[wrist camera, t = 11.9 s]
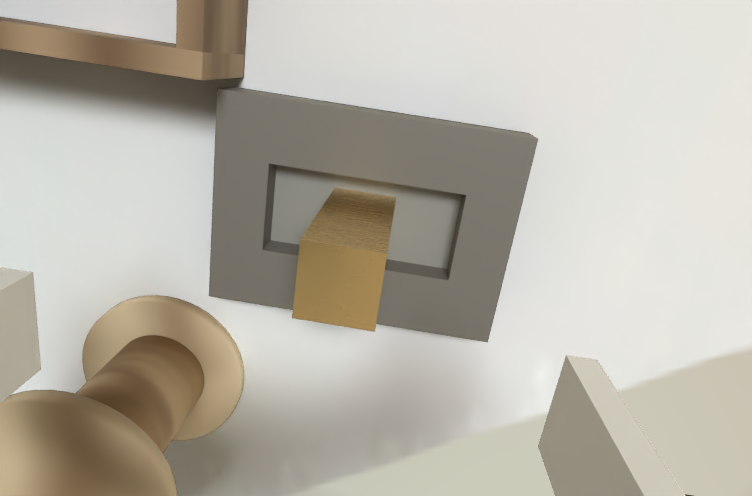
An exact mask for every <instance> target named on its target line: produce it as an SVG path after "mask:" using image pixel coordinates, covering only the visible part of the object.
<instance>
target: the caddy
mask: <svg viewBox="0 0 752 496" xmlns="http://www.w3.org/2000/svg"><path fill="white" fill-rule="evenodd" d="M247 8H248V0H177V33H176V44H173V43H166V42H160V41H154V40H147V39H141V38H134V37H128V36H121V35H115V34H108V33H102V32H96V31H89V30H83V29H76V28H70V27H63V26H57V25H50V24H44V23H38V22H31V21H25V20H18V19H12V18H5V17H0V49H5V50H11V51H18V52H24V53H30V54H37V55H43V56H50V57H56V58H62V59H69V60H75V61H81V62H88V63H94V64H101V65H107V66H113V67H120V68H126V69H133V70H139V71H145V72H152V73H158V74H164V75H171V76H177V77H184V78H190V79H196V80H214V79H227V78H241V77H244V62H245V44H246V26H247Z"/></svg>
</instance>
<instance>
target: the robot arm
mask: <svg viewBox="0 0 752 496" xmlns="http://www.w3.org/2000/svg"><path fill="white" fill-rule="evenodd" d="M39 370H41V363H40V351H39V339H38V327H37V315H36V303H35V291H34V279H33V272H27V271H20V270H14V269H7V268H0V403H1V402H2V401H4V400H5V399H6V398H7V397H8V396H10V395H11V394H12V393H13V392H14V391H16V390H17V389H18V388H19V387H20V386H21V385H23V384H24V383H25V382H26V381H27V380H29V379H30V378H31V377H32V376H33V375H35V374H36V373H37V372H38V371H39ZM538 448H539V450H540V453H541V456H542V459H543V462H544V465H545V467H546V470H547V473H548V476H549V479H550V482H551V485H552V488H553V491H554V494H555V496H692V495H686V494H684V492H683V491H682V489H681V488H680V486H679V485H678V483H677V482H676V480H675V479H674V477H673V476H672V474H671V473H670V471H669V470H668V468H667V466H666V465H665V463H664V462H663V460H662V459H661V457H660V456H659V454H658V453H657V451H656V449H655V448H654V446H653V445H652V443H651V442H650V440H649V439H648V437H647V436H646V434H645V432H644V431H643V429H642V428H641V427H640V425H639V424H638V422H637V420H636V419H635V417H634V416H633V414H632V413H631V411H630V409H629V408H628V406H627V405H626V403H625V402H624V400H623V399H622V397H621V396H620V394H619V393H618V391H617V389H616V388H615V386H614V385H613V383H612V382H611V380H610V379H609V377H608V376H607V374H606V373H605V371H604V369H603V368H602V366H601V365H600V363H599V362H598V360H594V359H587V358H581V357H575V356H568V355H566V358H565V361H564V364H563V367H562V371H561V374H560V377H559V380H558V383H557V387H556V390H555V393H554V396H553V400H552V403H551V406H550V409H549V413H548V416H547V419H546V422H545V426H544V429H543V432H542V435H541V439H540V442H539V445H538Z"/></svg>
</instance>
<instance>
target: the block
mask: <svg viewBox="0 0 752 496" xmlns="http://www.w3.org/2000/svg"><path fill="white" fill-rule="evenodd" d="M395 203H396V197H392V196H386V195H380V194H373V193H367V192H361V191H354V190H348V189H342V188H336V187H335V188H334V190H333V191H332V193H331V194H330V196H329V197H328V199H327V200H326V202H325V203H324V205H323V206H322V208H321V209H320V211H319V212H318V214H317V215H316V217H315V218H314V220H313V221H312V223H311V224H310V226H309V227H308V228H307V230H306V231H305V233H304V234H303V236H302V237H301V239H300V245H299V255H298V265H297V275H296V285H295V295H294V305H293V315H292V318H296V319H302V320H308V321H314V322H320V323H326V324H332V325H338V326H344V327H350V328H356V329H362V330H368V331H374V332H375V327H376V321H377V315H378V308H379V302H380V296H381V290H382V284H383V278H384V272H385V265H386V259H387V253H388V247H389V240H390V234H391V228H392V222H393V215H394V209H395Z"/></svg>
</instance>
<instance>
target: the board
mask: <svg viewBox="0 0 752 496" xmlns="http://www.w3.org/2000/svg"><path fill="white" fill-rule="evenodd" d="M537 142H538V139H537V138H536V137H534V136H533V135H531V134H529V133H525V132H518V131H512V130H505V129H499V128H493V127H486V126H480V125H474V124H467V123H461V122H454V121H448V120H442V119H435V118H429V117H422V116H416V115H410V114H403V113H397V112H391V111H384V110H378V109H371V108H365V107H359V106H352V105H346V104H339V103H333V102H327V101H320V100H314V99H308V98H301V97H295V96H288V95H282V94H276V93H269V92H263V91H256V90H250V89H244V88H237V87H226V88H218V89H217V106H216V131H215V157H214V182H213V207H212V233H211V258H210V284H209V296H212V297H218V298H224V299H230V300H236V301H242V302H248V303H254V304H260V305H266V306H272V307H278V308H284V309H290V310H293V305H294V295H295V285H296V275H297V265H298V255H299V245H300V239H301V237H302V236H303V234H304V233H305V231H306V230H307V228H308V227H309V226H310V224H311V223H312V221H313V220H314V218H315V217H316V215H317V214H318V212H319V211H320V209H321V208H322V206H323V205H324V203H325V202H326V200H327V199H328V197H329V196H330V194H331V193H332V191H333V190H334V188H335V187H336V188H342V189H348V190H354V191H361V192H367V193H373V194H380V195H386V196H392V197H396V203H395V209H394V215H393V222H392V228H391V234H390V240H389V247H388V253H387V259H386V265H385V272H384V278H383V284H382V290H381V296H380V302H379V308H378V315H377V321H376V324H381V325H387V326H393V327H399V328H405V329H411V330H417V331H423V332H429V333H435V334H441V335H447V336H453V337H459V338H465V339H471V340H477V341H483V342H488V339H489V335H490V331H491V327H492V323H493V319H494V315H495V311H496V307H497V303H498V299H499V295H500V290H501V286H502V282H503V278H504V274H505V270H506V266H507V262H508V258H509V254H510V250H511V246H512V242H513V238H514V234H515V230H516V226H517V222H518V218H519V214H520V210H521V206H522V202H523V198H524V194H525V190H526V186H527V182H528V178H529V174H530V170H531V166H532V162H533V158H534V154H535V150H536V146H537Z"/></svg>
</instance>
